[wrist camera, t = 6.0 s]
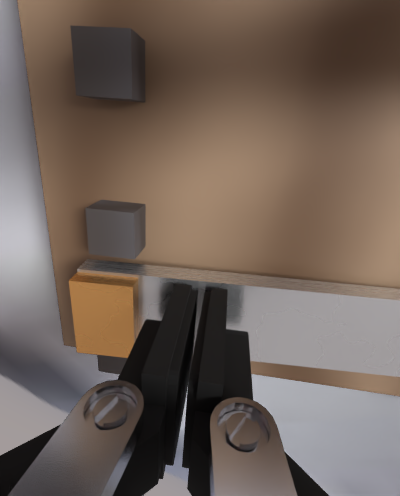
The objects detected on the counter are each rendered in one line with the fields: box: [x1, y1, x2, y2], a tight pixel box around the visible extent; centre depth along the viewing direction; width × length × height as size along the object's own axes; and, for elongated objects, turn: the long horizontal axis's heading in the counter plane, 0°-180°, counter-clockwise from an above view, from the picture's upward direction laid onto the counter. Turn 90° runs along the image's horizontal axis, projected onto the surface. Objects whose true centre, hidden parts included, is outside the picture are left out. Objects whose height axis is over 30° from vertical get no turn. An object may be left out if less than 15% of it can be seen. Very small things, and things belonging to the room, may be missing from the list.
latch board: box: [17, 0, 400, 396], centre depth 9 cm, size 20×18×4 cm
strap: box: [69, 259, 400, 377], centre depth 10 cm, size 16×3×1 cm, turn 86°
